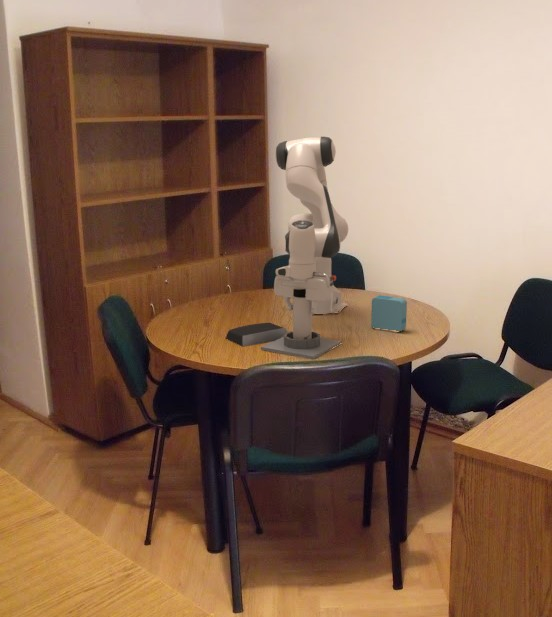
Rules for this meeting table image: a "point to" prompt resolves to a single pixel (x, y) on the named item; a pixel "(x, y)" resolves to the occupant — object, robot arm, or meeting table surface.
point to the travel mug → (302, 316)
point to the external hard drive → (256, 334)
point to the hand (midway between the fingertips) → (302, 311)
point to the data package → (389, 313)
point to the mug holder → (301, 346)
